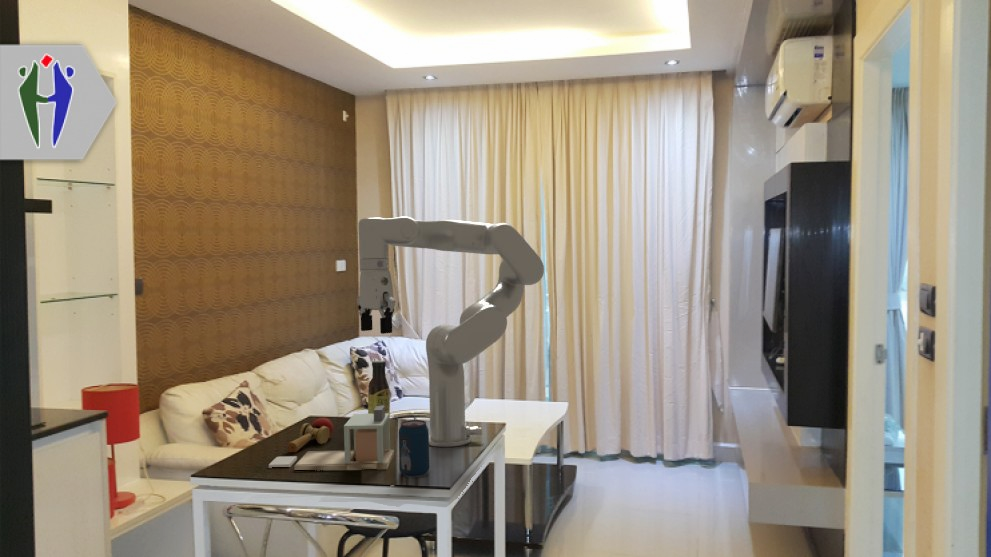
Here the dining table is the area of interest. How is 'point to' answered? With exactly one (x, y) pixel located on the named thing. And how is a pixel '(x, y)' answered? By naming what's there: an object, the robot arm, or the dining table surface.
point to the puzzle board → (339, 461)
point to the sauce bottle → (379, 388)
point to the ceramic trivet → (283, 461)
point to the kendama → (312, 434)
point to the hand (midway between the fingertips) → (376, 331)
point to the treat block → (366, 445)
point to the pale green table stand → (369, 422)
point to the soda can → (414, 448)
